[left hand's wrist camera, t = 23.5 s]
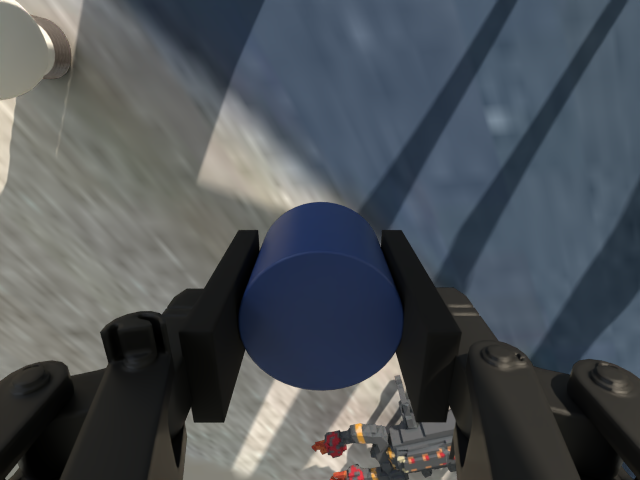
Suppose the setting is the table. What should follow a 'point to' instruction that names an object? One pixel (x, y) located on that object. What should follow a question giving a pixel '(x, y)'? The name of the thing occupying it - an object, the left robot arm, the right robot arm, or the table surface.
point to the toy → (395, 446)
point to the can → (321, 300)
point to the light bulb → (29, 50)
